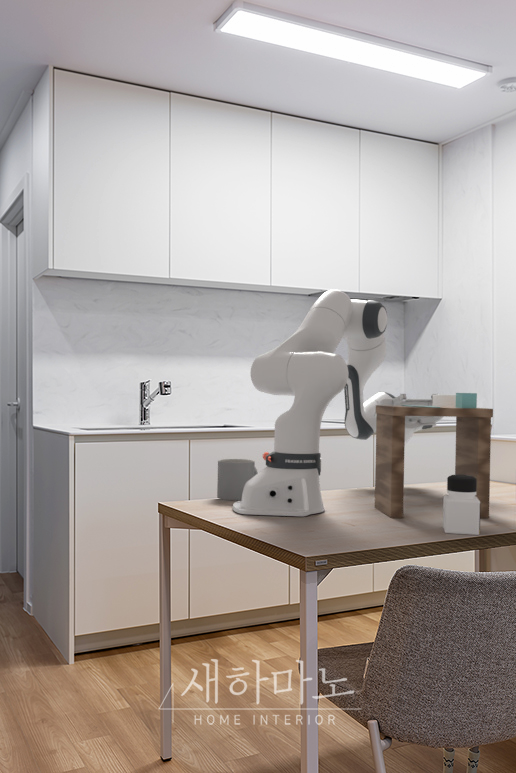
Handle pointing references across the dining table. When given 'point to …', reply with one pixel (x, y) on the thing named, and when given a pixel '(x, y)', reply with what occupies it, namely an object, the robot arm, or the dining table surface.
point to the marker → (456, 400)
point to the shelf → (468, 459)
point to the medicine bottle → (461, 506)
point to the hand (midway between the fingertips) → (419, 395)
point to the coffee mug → (234, 477)
